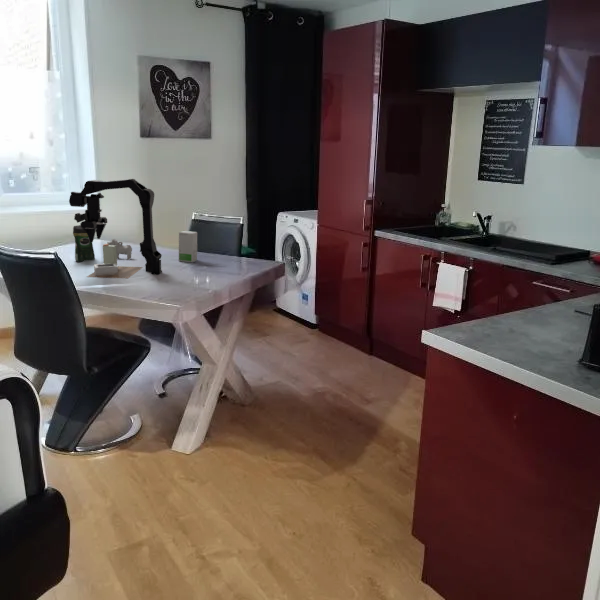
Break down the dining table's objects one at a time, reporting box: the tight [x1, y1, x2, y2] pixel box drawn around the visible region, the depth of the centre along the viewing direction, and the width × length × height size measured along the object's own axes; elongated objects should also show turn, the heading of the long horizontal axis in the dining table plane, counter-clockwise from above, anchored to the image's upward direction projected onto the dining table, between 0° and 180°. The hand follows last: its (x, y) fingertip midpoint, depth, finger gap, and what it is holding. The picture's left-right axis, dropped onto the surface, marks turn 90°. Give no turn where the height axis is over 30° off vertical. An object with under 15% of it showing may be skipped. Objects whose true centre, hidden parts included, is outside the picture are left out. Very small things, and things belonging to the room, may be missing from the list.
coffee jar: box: [72, 225, 96, 263], centre depth 296 cm, size 10×8×19 cm
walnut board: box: [86, 265, 144, 279], centre depth 273 cm, size 19×24×1 cm
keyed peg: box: [102, 243, 118, 265], centre depth 278 cm, size 5×3×12 cm, turn 81°
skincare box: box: [178, 230, 198, 263], centre depth 305 cm, size 8×7×16 cm
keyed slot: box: [93, 263, 118, 276], centre depth 268 cm, size 10×8×4 cm
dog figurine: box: [106, 238, 133, 261], centre depth 305 cm, size 5×13×11 cm, turn 91°
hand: (95, 240), depth 273 cm, fingers open, 9 cm apart
